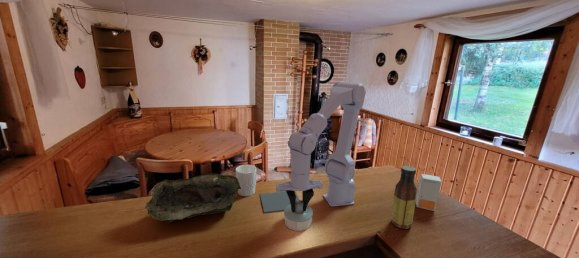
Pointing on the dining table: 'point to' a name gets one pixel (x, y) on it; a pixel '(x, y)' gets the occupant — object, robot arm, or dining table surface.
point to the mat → (275, 201)
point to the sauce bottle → (404, 199)
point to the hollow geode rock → (193, 197)
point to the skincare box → (428, 192)
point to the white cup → (246, 179)
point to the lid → (298, 212)
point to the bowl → (297, 224)
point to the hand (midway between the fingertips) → (298, 210)
